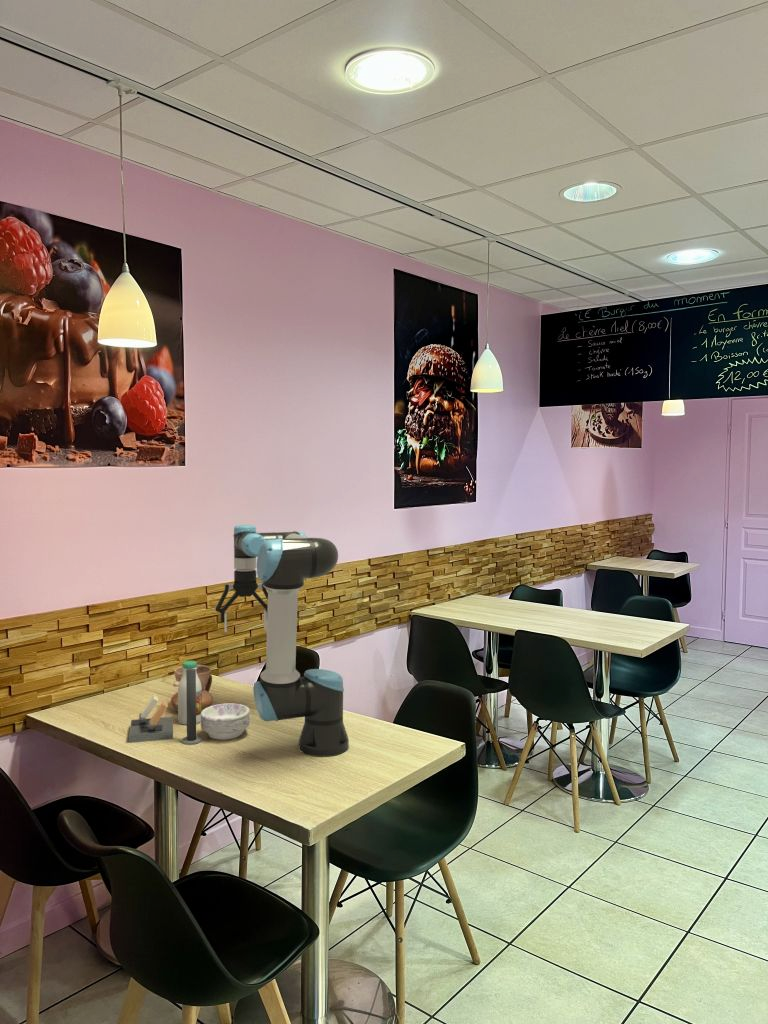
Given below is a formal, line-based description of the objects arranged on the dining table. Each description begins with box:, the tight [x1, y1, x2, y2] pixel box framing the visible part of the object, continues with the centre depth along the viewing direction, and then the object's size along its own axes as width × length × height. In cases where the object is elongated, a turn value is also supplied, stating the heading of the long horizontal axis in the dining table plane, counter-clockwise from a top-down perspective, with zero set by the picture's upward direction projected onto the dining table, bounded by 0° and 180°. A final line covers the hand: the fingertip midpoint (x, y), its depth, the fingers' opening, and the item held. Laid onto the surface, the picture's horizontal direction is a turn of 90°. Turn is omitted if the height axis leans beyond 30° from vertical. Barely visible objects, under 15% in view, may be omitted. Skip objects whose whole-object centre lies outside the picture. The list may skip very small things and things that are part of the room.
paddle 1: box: [138, 694, 159, 723], centre depth 244 cm, size 5×2×8 cm
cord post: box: [181, 669, 203, 746], centre depth 233 cm, size 6×6×22 cm
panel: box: [128, 716, 174, 743], centre depth 241 cm, size 14×13×3 cm
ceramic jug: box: [170, 664, 215, 711], centre depth 265 cm, size 18×14×14 cm
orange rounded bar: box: [148, 700, 169, 730], centre depth 238 cm, size 5×2×8 cm
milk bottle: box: [177, 660, 203, 726], centre depth 251 cm, size 8×8×20 cm
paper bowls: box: [200, 702, 251, 741], centre depth 239 cm, size 15×15×8 cm
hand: (245, 630), depth 263 cm, fingers open, 13 cm apart
